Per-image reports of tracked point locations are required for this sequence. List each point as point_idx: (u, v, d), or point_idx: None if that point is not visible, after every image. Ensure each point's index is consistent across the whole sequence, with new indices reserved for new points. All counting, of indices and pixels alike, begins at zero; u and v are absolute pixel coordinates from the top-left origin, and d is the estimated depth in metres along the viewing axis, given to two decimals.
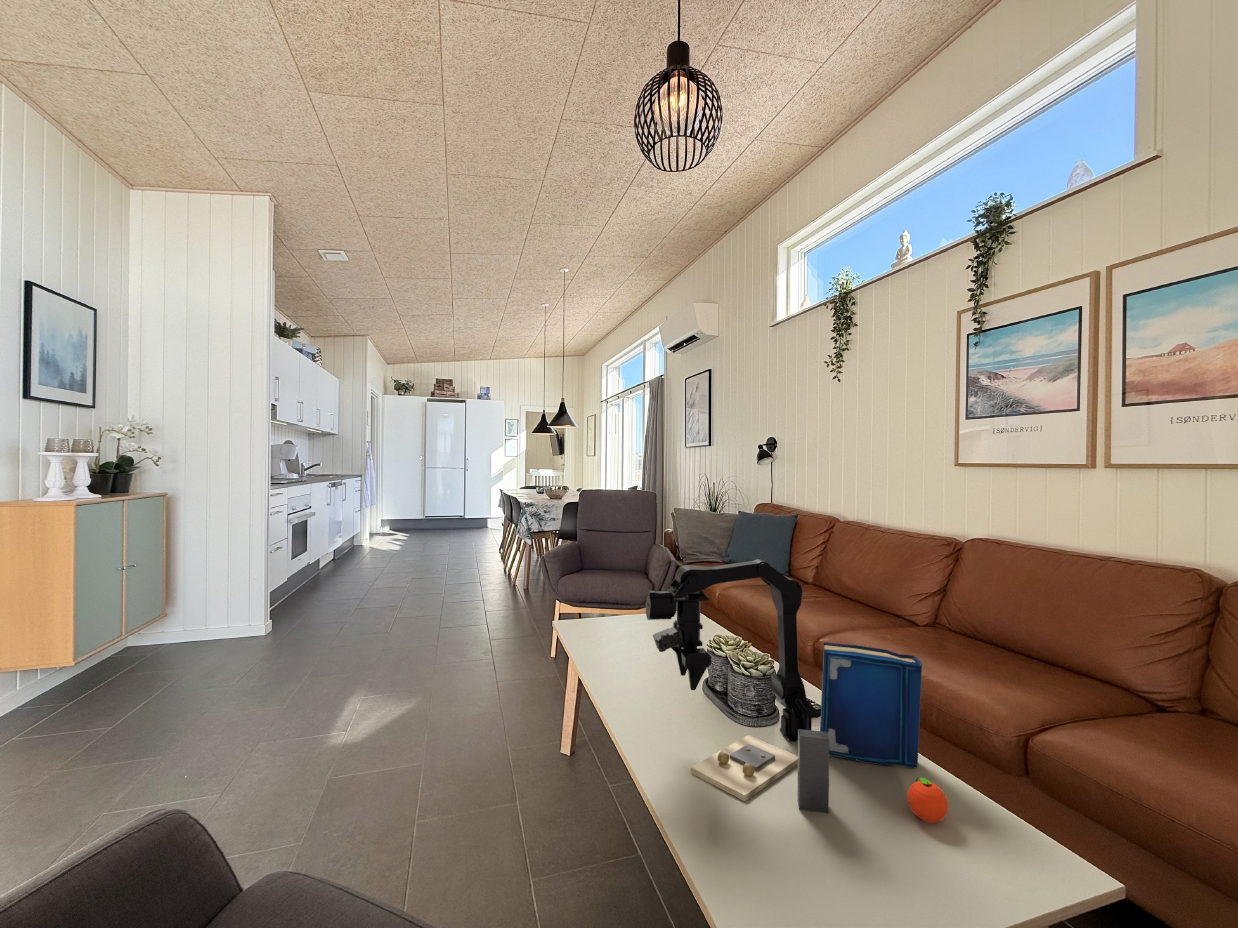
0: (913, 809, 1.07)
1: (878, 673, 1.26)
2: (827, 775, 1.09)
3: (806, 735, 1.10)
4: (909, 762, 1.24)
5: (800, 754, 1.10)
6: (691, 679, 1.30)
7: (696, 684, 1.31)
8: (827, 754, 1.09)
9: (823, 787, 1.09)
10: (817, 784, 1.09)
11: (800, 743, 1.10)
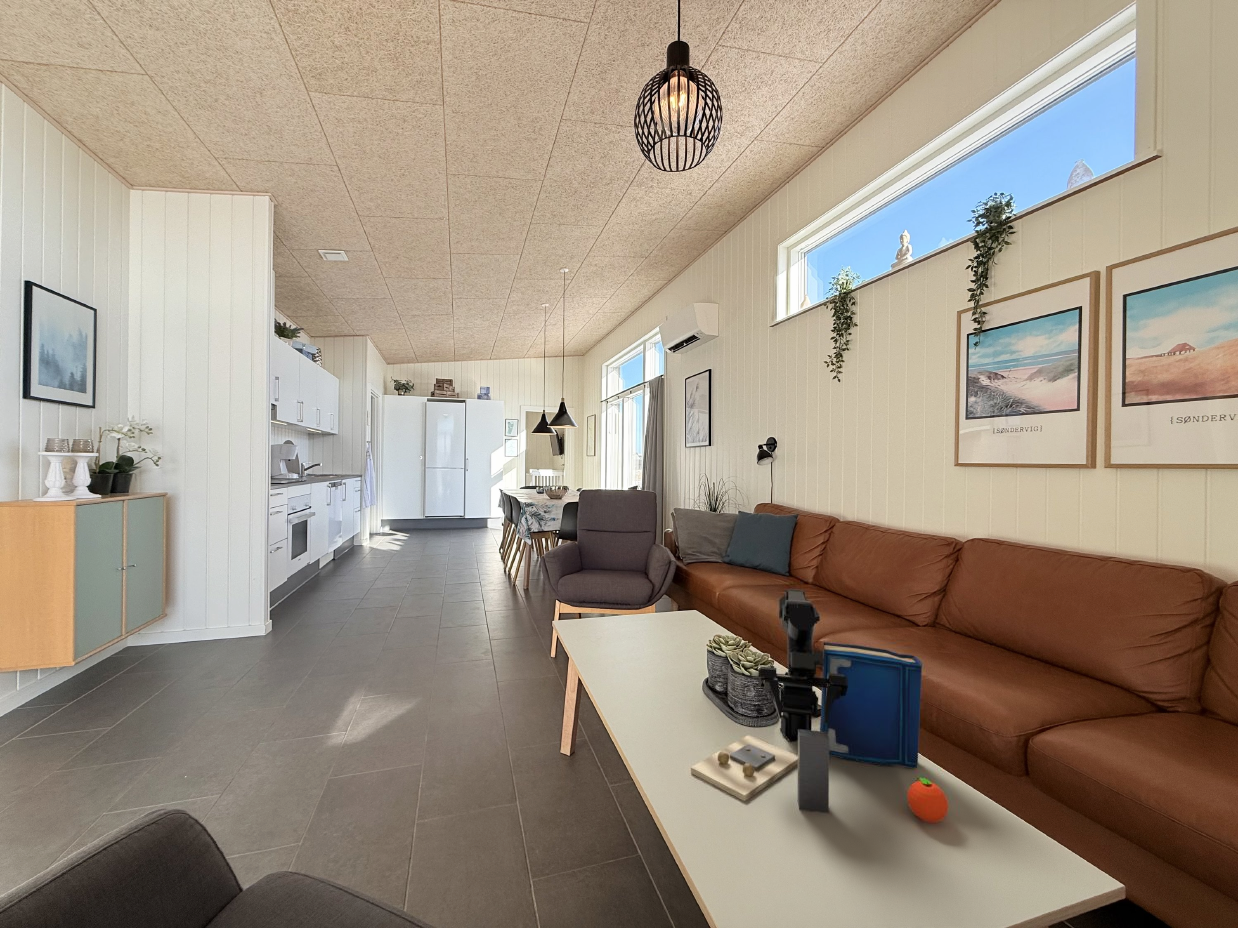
0: (913, 809, 1.07)
1: (878, 673, 1.26)
2: (827, 775, 1.09)
3: (806, 735, 1.10)
4: (909, 762, 1.24)
5: (800, 754, 1.10)
6: (830, 708, 1.19)
7: None
8: (827, 754, 1.09)
9: (823, 787, 1.09)
10: (817, 784, 1.09)
11: (800, 743, 1.10)
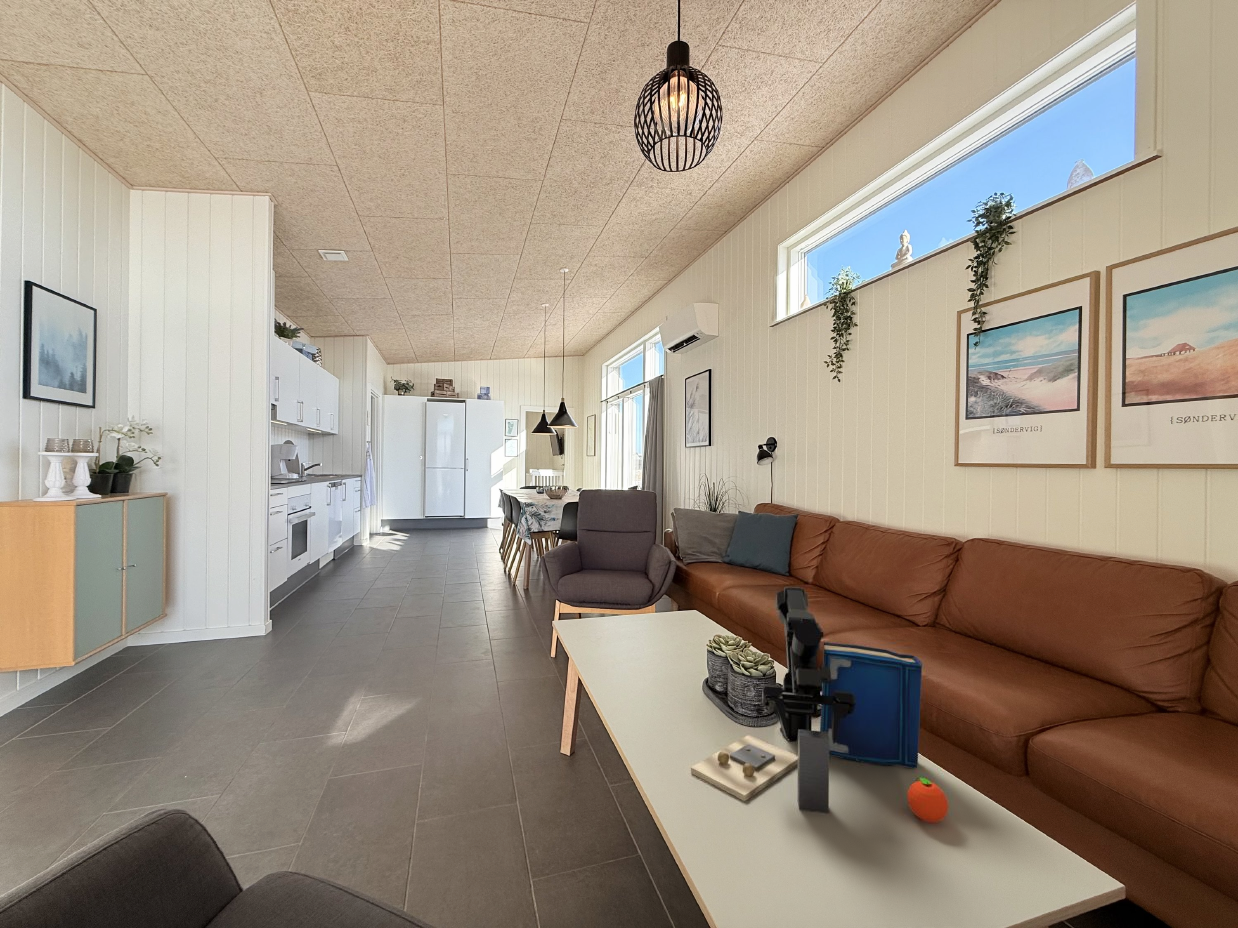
0: (913, 809, 1.07)
1: (878, 673, 1.26)
2: (827, 775, 1.09)
3: (806, 735, 1.10)
4: (909, 762, 1.24)
5: (800, 754, 1.10)
6: (838, 727, 1.15)
7: None
8: (827, 754, 1.09)
9: (823, 787, 1.09)
10: (817, 784, 1.09)
11: (800, 743, 1.10)
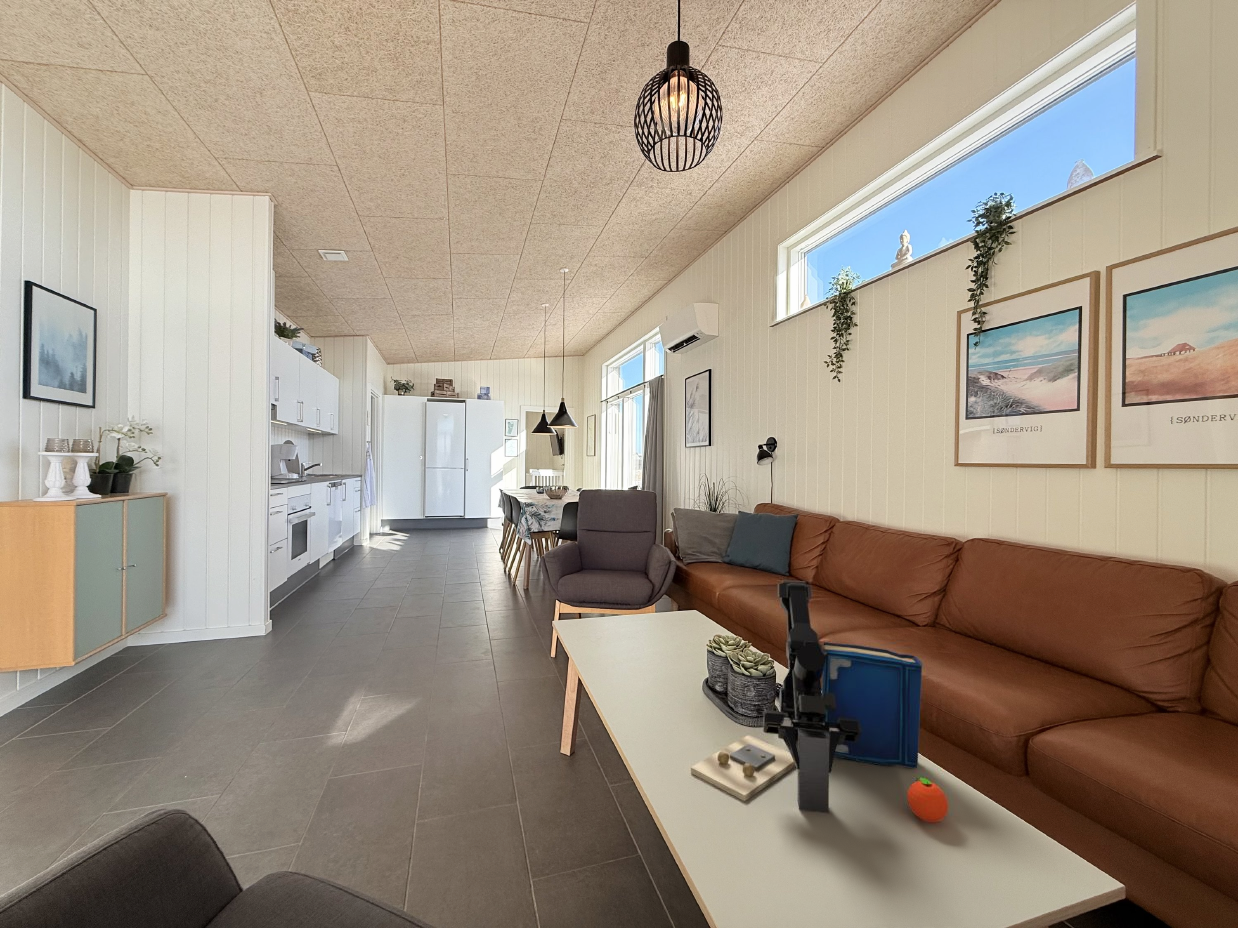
0: (913, 809, 1.07)
1: (878, 673, 1.26)
2: (827, 775, 1.09)
3: (806, 735, 1.10)
4: (909, 762, 1.24)
5: (800, 754, 1.10)
6: None
7: None
8: (827, 754, 1.09)
9: (823, 787, 1.09)
10: (817, 784, 1.09)
11: (800, 743, 1.10)
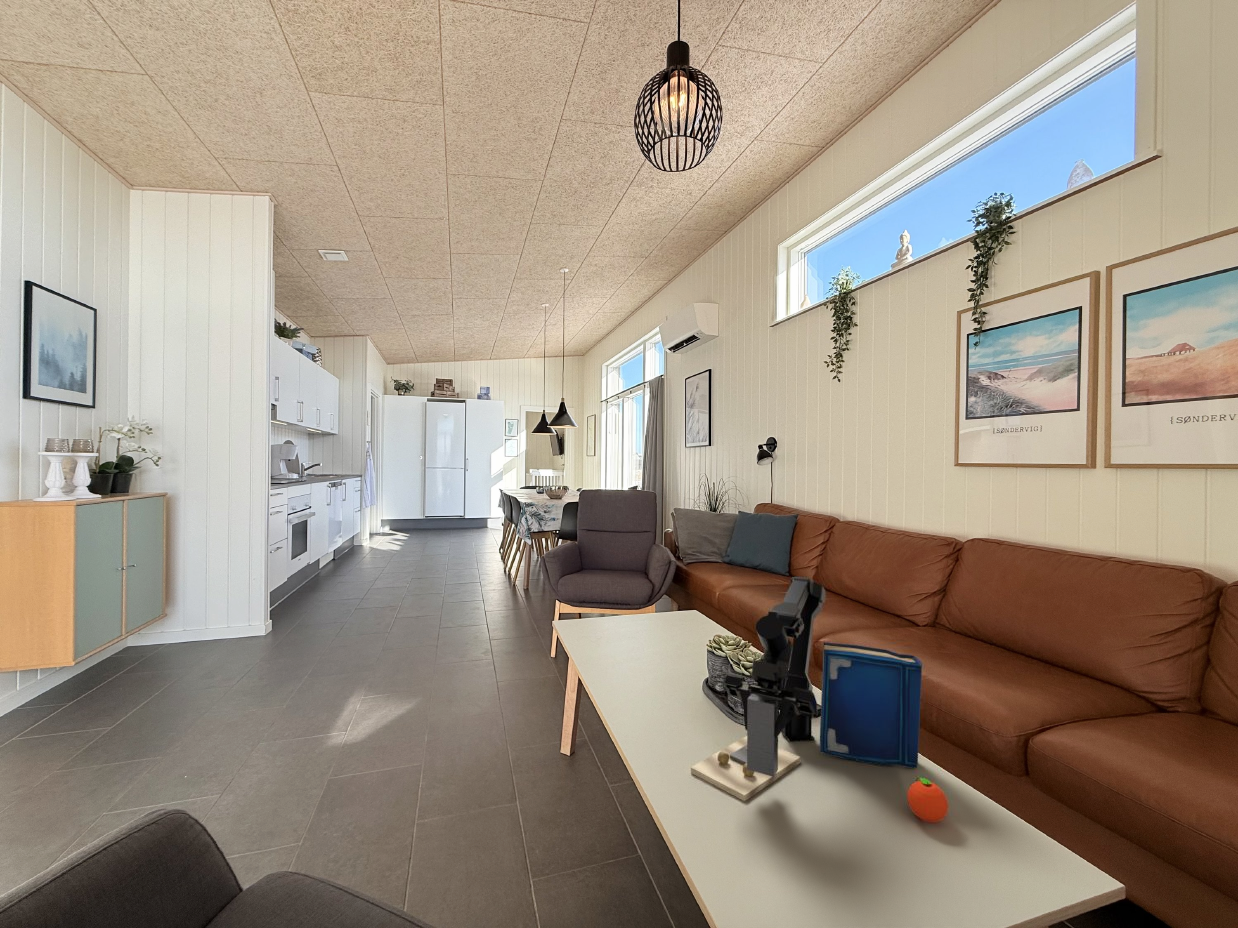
0: (913, 809, 1.07)
1: (878, 673, 1.26)
2: (772, 739, 1.12)
3: (754, 699, 1.14)
4: (909, 762, 1.24)
5: (748, 716, 1.15)
6: (782, 722, 1.13)
7: (780, 731, 1.13)
8: (772, 719, 1.12)
9: (769, 751, 1.12)
10: (763, 747, 1.13)
11: (747, 705, 1.15)
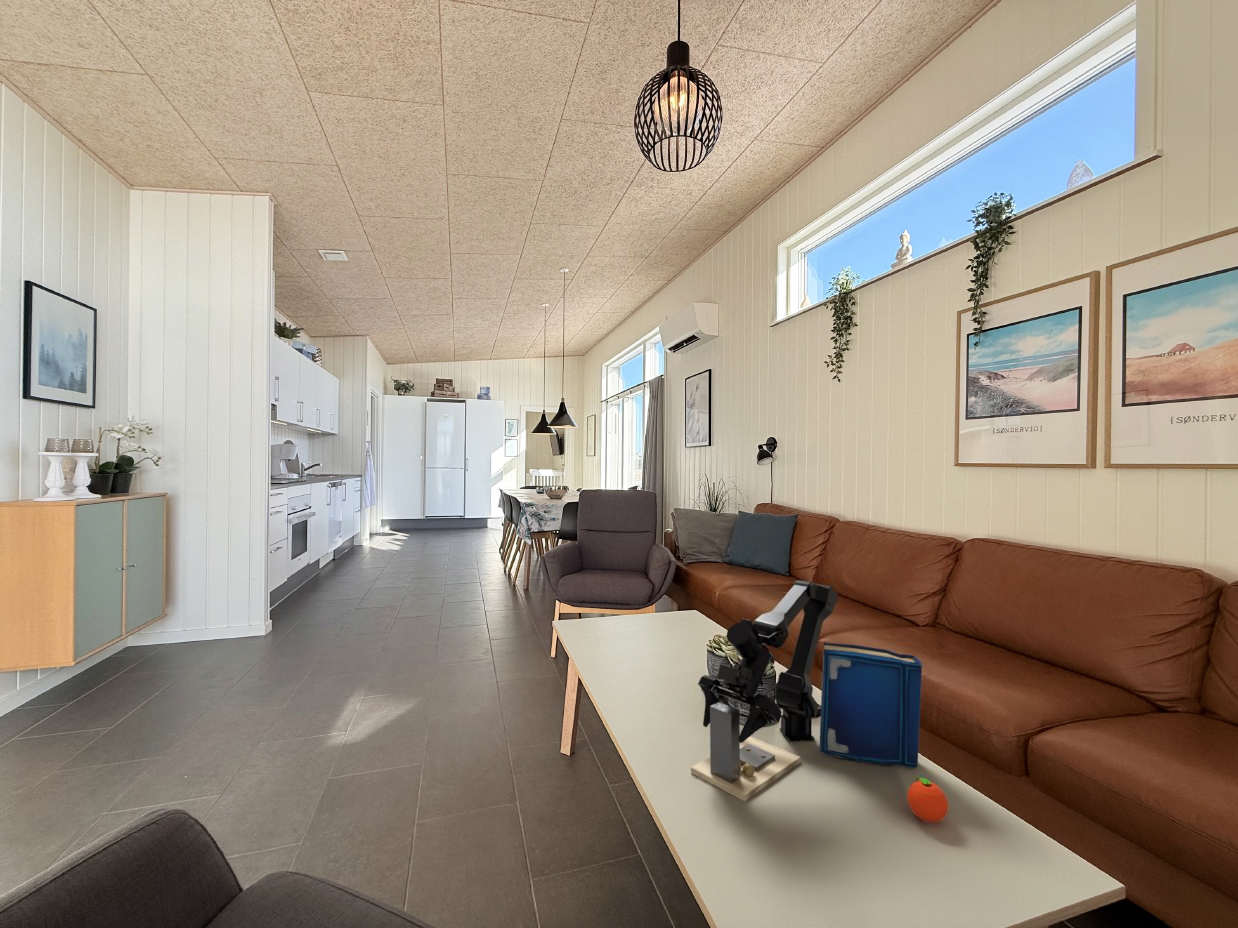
0: (913, 809, 1.07)
1: (878, 673, 1.26)
2: (730, 748, 1.17)
3: (716, 707, 1.20)
4: (909, 762, 1.24)
5: (710, 723, 1.20)
6: (748, 728, 1.16)
7: (746, 737, 1.16)
8: (730, 728, 1.17)
9: (727, 758, 1.17)
10: (723, 754, 1.18)
11: (710, 713, 1.20)
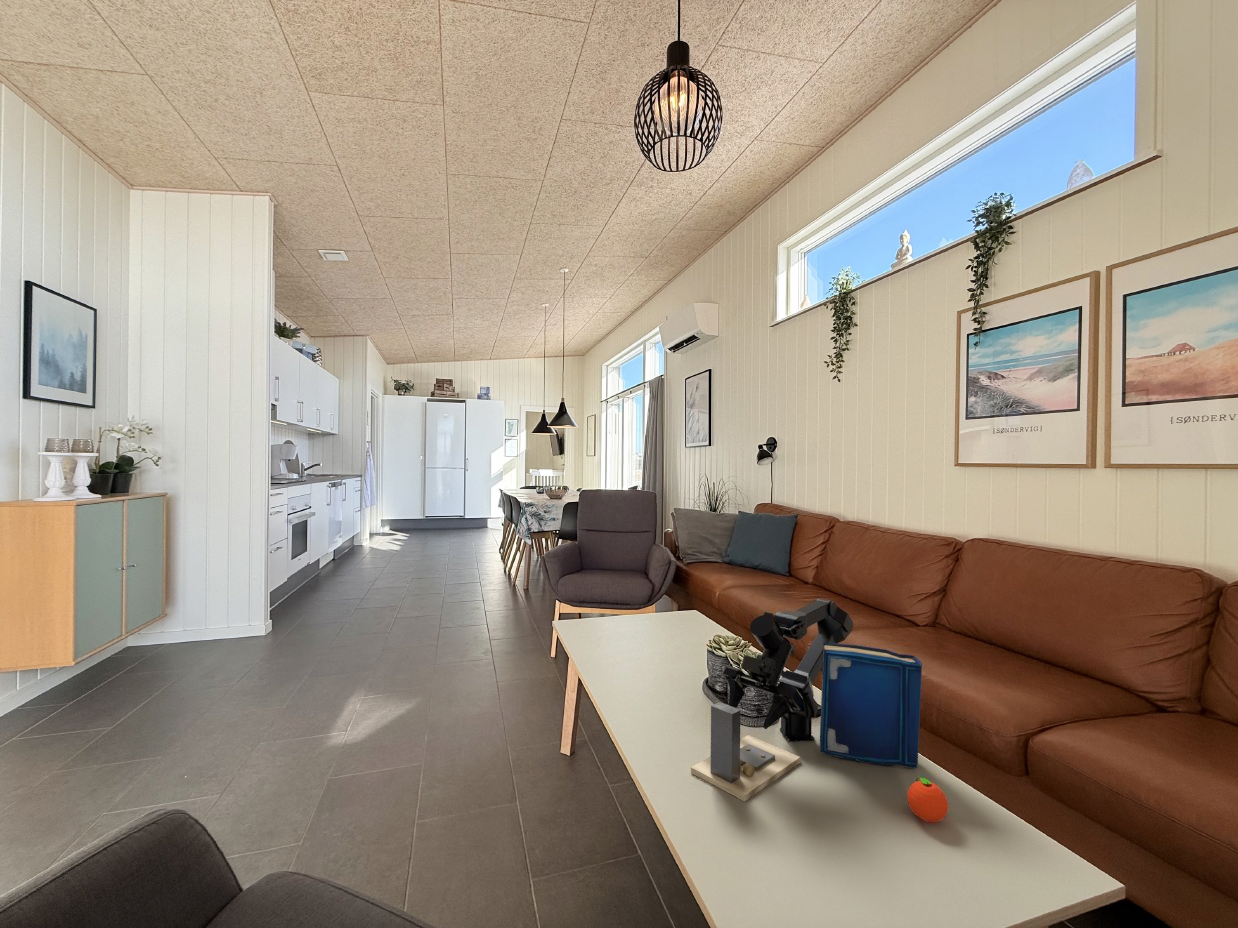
0: (913, 809, 1.07)
1: (878, 673, 1.26)
2: (730, 747, 1.17)
3: (717, 707, 1.20)
4: (909, 762, 1.24)
5: (711, 722, 1.21)
6: (772, 715, 1.22)
7: (770, 724, 1.22)
8: (730, 728, 1.17)
9: (728, 758, 1.17)
10: (723, 753, 1.18)
11: (711, 712, 1.21)
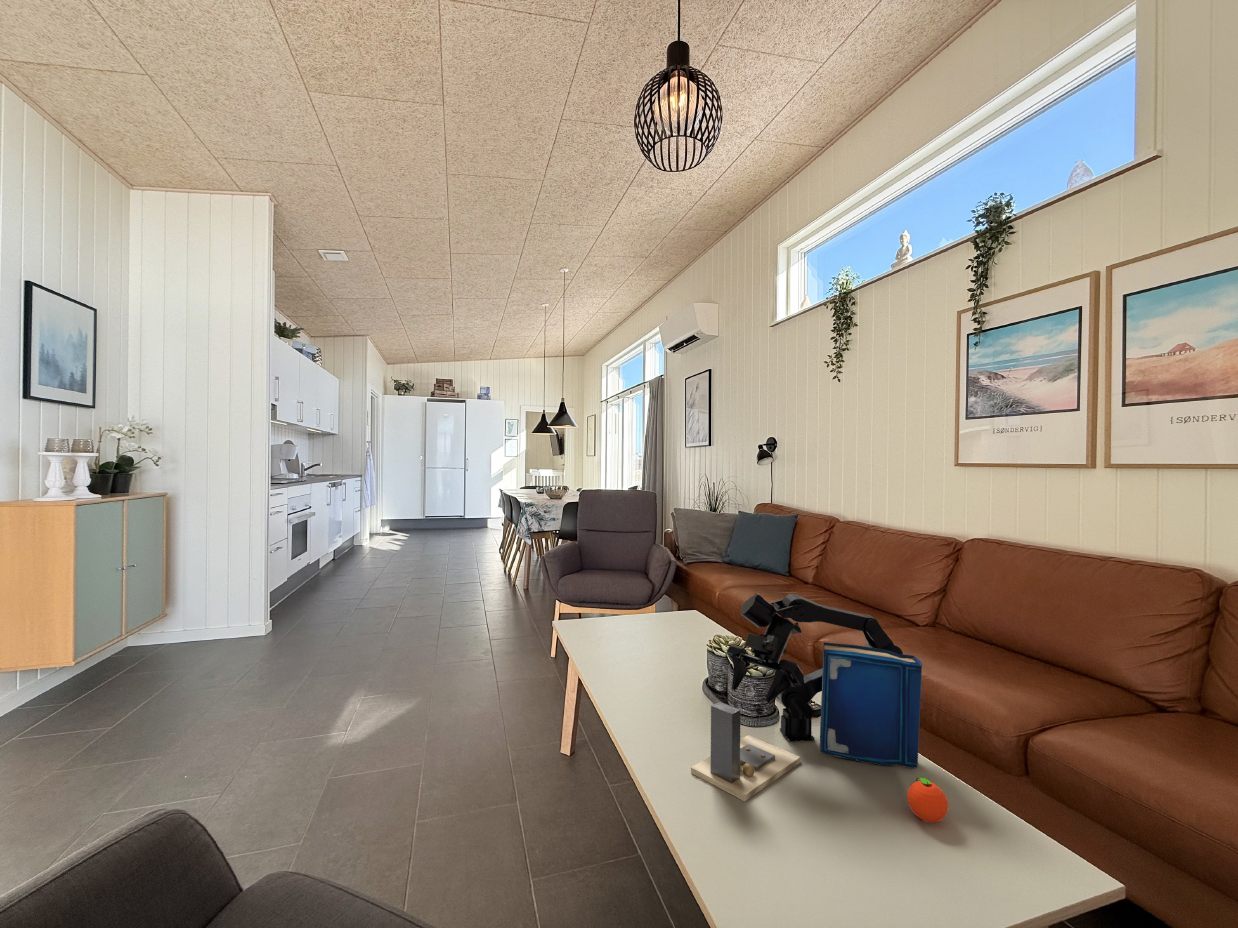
0: (913, 809, 1.07)
1: (878, 673, 1.26)
2: (730, 747, 1.17)
3: (717, 707, 1.20)
4: (909, 762, 1.24)
5: (711, 722, 1.21)
6: (774, 690, 1.28)
7: (772, 698, 1.29)
8: (730, 728, 1.17)
9: (728, 758, 1.17)
10: (723, 753, 1.18)
11: (711, 712, 1.21)
